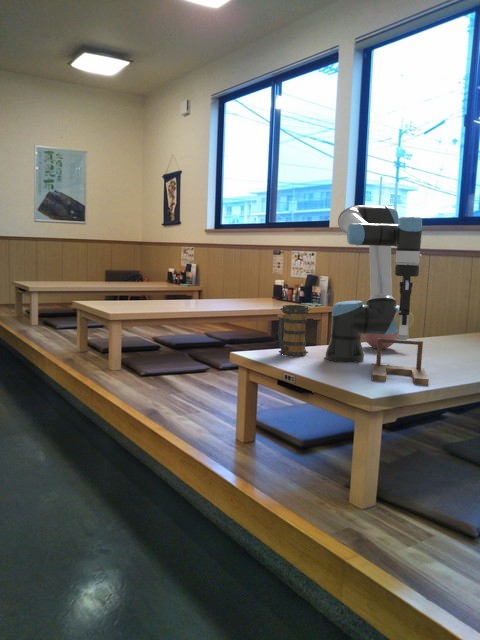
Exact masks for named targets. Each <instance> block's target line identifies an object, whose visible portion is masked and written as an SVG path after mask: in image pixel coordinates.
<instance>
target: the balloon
mask: <svg viewBox="0 0 480 640" xmlns="http://www.w3.org/2000/svg"><path fill="white" fill-rule="evenodd" d="M397 331H398V330H397ZM397 333H398V332H396V333H395V334H385V335H383V334H363V335H362V336H363V338H364V340H365V342H366V343H367V344H368V346H370V347H372V348H375V349H377V344H378V338H382V339H390V340H398V338H397ZM394 344H395V343H385V342H382V350H383V349H387V348H389V347H392V346H393V345H394Z"/></svg>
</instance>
